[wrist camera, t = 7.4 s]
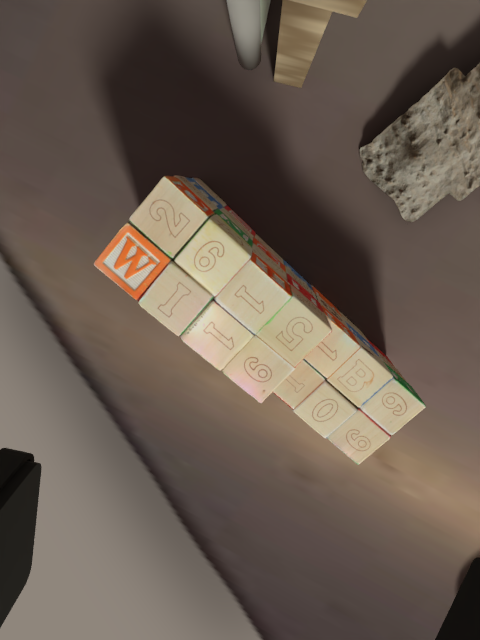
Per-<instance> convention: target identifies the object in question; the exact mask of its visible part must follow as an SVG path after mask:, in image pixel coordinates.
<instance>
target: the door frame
mask: <svg viewBox="0 0 480 640" xmlns="http://www.w3.org/2000/svg"><path fill="white" fill-rule="evenodd" d="M366 1H367V0H283V2H282V11H281V20H280V29H279V38H278V47H277V57H276V66H275V75H274V81H275V82H279V83H283V84H287V85H291V86H295V87H299V88H301V87H302V85H303V82H304V80H305V77H306V75H307V72H308V70H309V67H310V65H311V62H312V60H313V58H314V55H315V53H316V50H317V48H318V45H319V43H320V40H321V38H322V36H323V33H324V31H325V28H326V26H327V23H328V21H329V18H330V16H331V13H332V11H333V12H337V13H341V14H345V15H348V16H352V17H356V18H357V17H358V15H359V13H360V12H361V10H362V8H363V6H364V5H365V3H366Z"/></svg>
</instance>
